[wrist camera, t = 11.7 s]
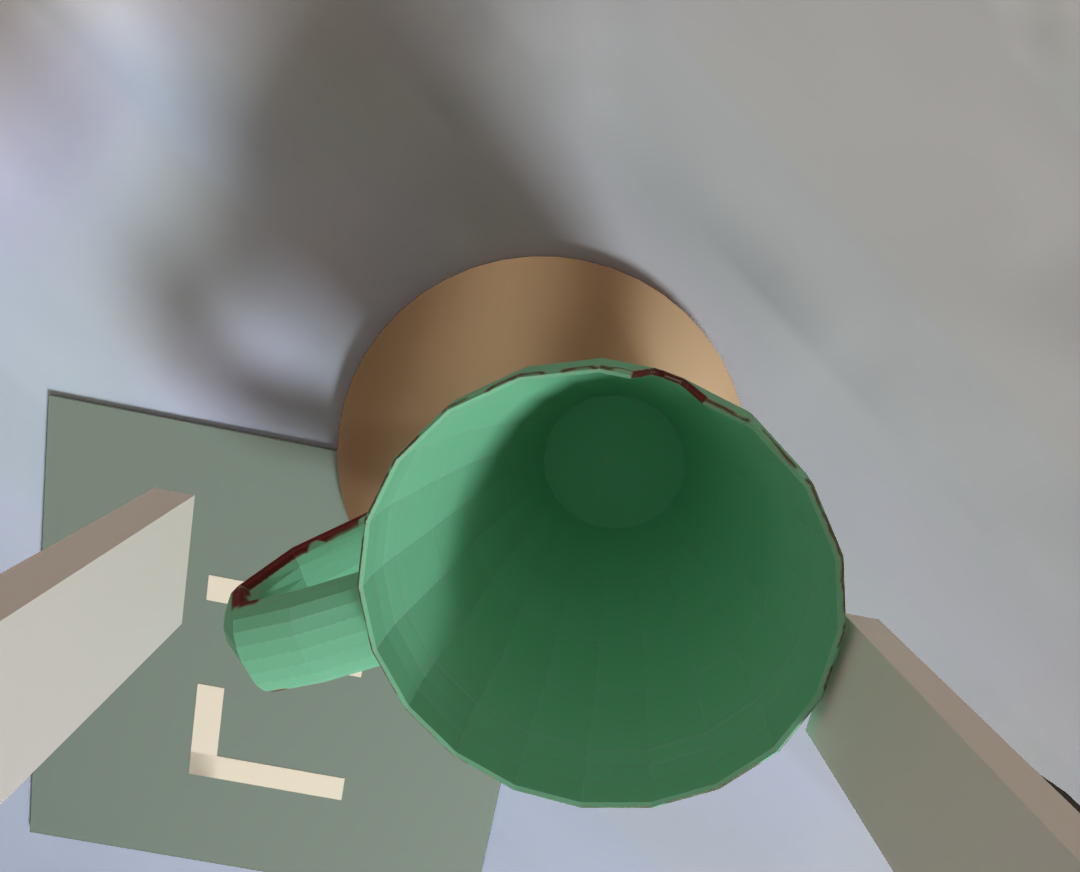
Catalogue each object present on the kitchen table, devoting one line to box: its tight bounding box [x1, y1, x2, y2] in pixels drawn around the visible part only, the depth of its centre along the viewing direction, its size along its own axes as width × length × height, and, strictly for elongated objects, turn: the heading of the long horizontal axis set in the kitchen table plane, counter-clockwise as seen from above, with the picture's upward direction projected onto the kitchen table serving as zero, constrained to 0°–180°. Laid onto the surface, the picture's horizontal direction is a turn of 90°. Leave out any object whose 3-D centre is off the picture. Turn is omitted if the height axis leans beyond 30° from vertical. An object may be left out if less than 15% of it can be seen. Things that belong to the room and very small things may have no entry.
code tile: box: [30, 395, 501, 872], centre depth 26 cm, size 18×18×1 cm
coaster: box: [337, 257, 741, 521], centre depth 24 cm, size 14×14×1 cm
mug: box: [223, 358, 846, 808], centre depth 19 cm, size 15×10×10 cm
